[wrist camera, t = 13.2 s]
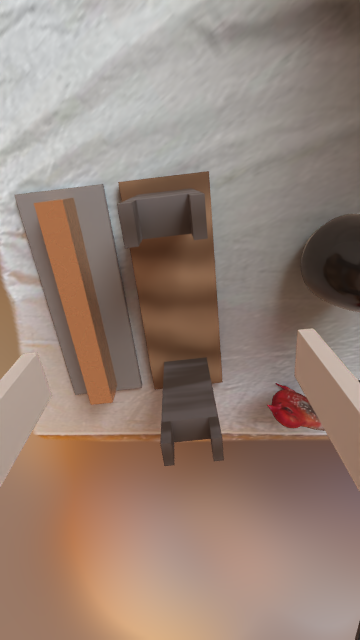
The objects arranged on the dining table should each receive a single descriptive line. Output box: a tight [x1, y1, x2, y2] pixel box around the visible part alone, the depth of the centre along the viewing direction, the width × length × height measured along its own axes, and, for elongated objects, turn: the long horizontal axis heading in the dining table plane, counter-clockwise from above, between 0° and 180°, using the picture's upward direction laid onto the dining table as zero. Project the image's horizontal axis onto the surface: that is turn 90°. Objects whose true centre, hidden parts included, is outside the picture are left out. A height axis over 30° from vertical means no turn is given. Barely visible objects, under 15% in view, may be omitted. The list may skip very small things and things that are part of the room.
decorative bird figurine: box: [267, 383, 325, 431], centre depth 44 cm, size 3×18×10 cm, turn 60°
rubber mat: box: [15, 184, 142, 395], centre depth 41 cm, size 28×10×1 cm, turn 6°
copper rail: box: [34, 198, 117, 405], centre depth 39 cm, size 26×3×4 cm, turn 6°
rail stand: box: [117, 171, 224, 466], centre depth 34 cm, size 28×10×16 cm, turn 6°
